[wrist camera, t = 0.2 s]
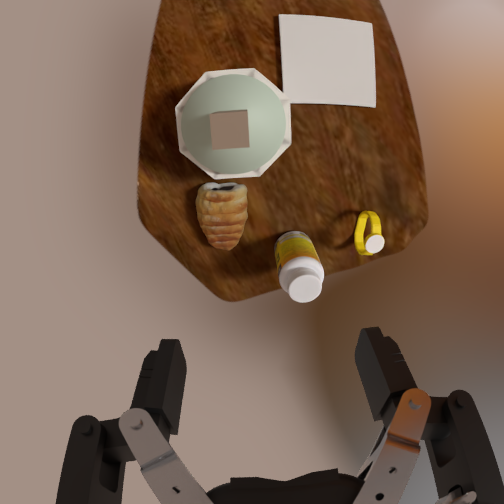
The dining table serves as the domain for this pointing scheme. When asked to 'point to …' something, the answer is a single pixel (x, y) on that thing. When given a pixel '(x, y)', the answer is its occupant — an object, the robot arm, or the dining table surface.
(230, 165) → the lid
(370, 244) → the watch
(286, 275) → the supplement bottle
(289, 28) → the mat
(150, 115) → the dining table surface
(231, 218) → the pastry
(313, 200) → the dining table surface
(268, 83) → the bowl
